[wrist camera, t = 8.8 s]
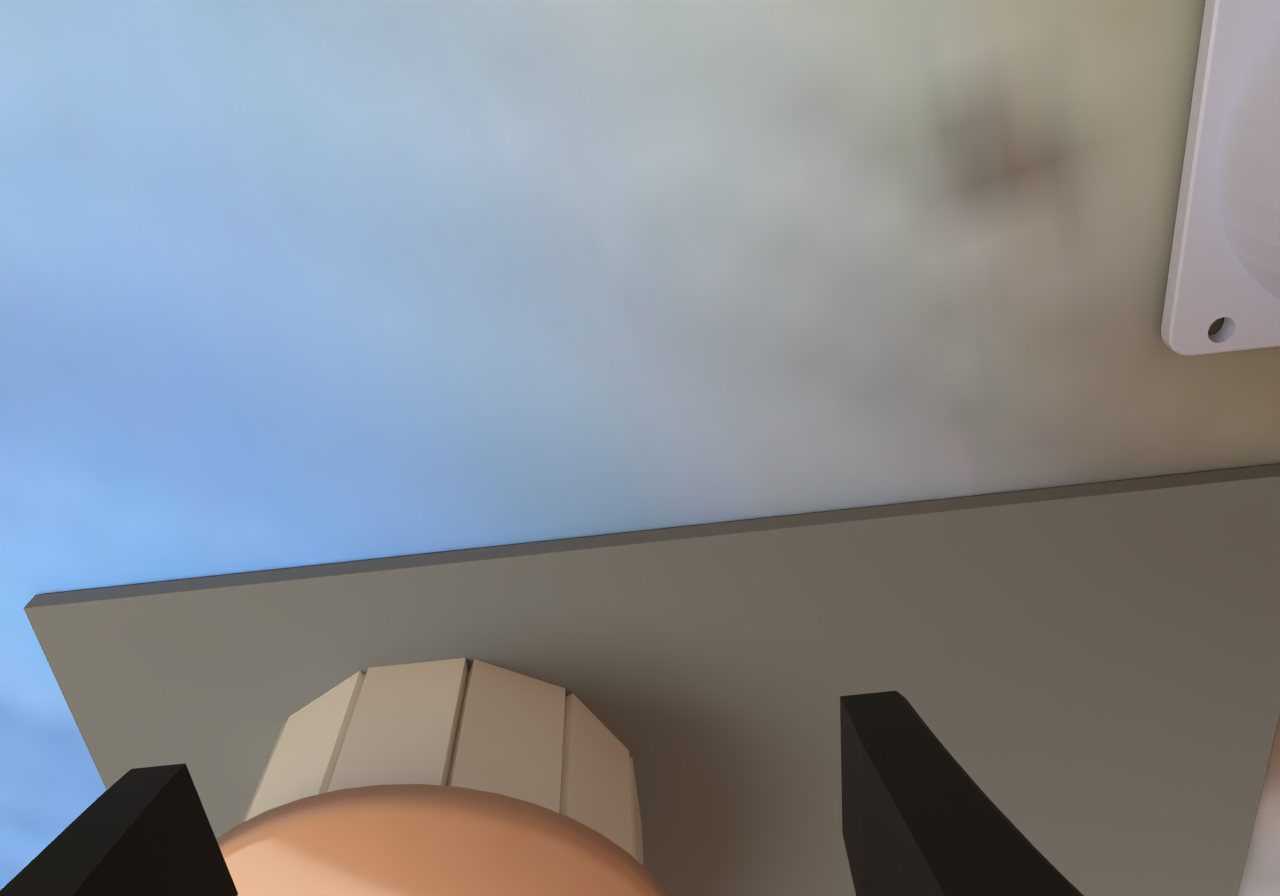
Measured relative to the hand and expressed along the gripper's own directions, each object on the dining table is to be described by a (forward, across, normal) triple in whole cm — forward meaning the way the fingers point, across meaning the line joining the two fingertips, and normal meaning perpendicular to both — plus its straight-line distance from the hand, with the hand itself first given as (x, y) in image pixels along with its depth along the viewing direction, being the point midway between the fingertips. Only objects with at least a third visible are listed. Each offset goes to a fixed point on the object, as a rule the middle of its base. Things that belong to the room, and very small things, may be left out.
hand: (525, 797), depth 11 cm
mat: (+10, -2, +12) cm, 16 cm away
